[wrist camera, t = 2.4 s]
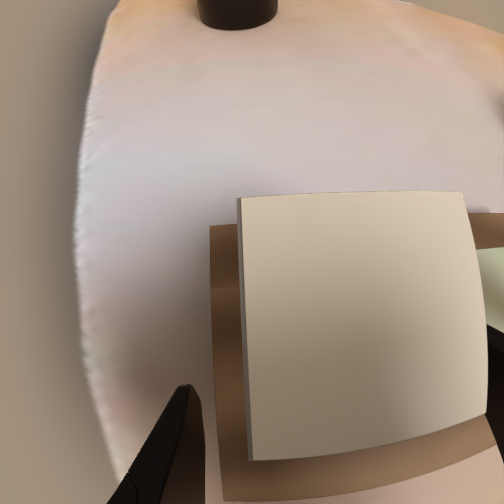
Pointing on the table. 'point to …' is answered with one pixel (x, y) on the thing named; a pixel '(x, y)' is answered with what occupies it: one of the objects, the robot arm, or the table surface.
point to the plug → (358, 320)
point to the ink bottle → (236, 12)
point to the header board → (346, 464)
